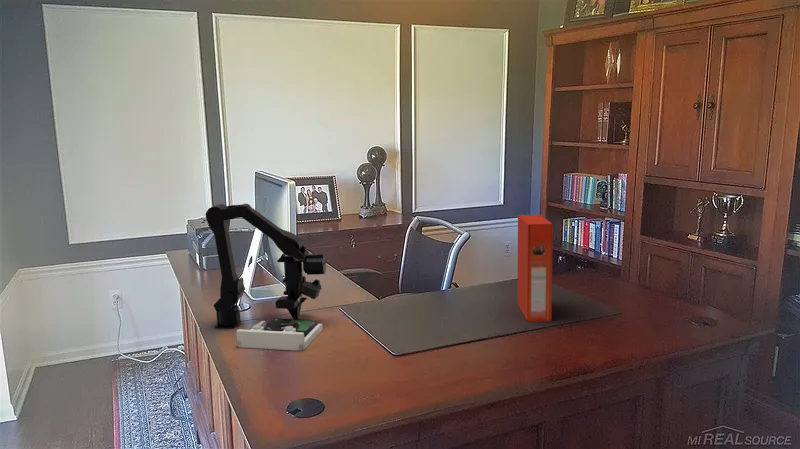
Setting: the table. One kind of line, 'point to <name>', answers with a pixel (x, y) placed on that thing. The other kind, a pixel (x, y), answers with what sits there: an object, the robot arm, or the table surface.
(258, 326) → the dock
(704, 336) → the table surface
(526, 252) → the file binder
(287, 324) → the disk drive
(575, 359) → the table surface
